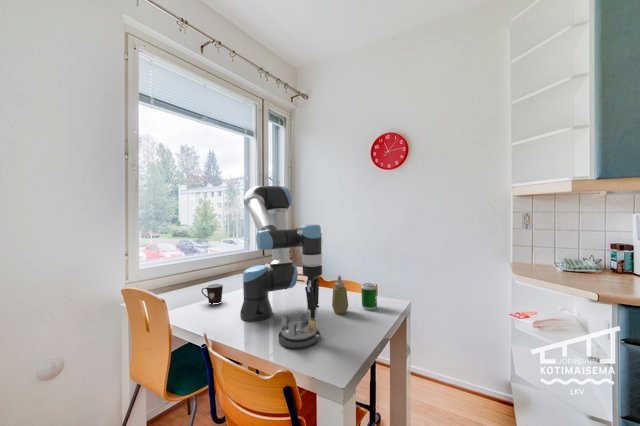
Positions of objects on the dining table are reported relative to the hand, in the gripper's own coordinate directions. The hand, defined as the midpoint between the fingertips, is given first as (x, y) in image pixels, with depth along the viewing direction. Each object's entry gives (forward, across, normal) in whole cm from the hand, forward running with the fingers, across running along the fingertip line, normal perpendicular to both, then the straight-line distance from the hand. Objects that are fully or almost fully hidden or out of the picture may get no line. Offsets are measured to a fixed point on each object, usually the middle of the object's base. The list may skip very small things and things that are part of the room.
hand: (313, 325), depth 101 cm
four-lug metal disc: (+3, +1, -6) cm, 7 cm away
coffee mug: (+7, -33, -67) cm, 75 cm away
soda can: (+6, -37, +20) cm, 42 cm away
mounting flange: (+6, +1, -6) cm, 8 cm away
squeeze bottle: (+6, -29, +6) cm, 30 cm away
